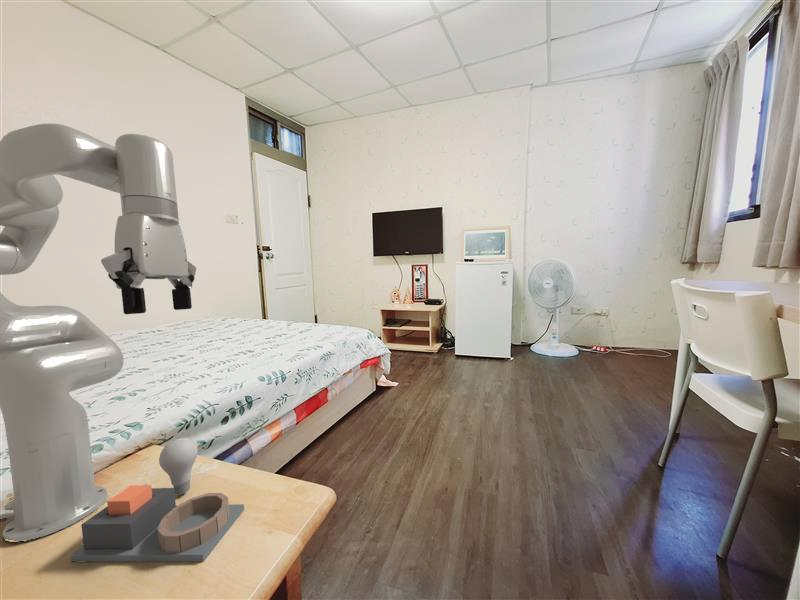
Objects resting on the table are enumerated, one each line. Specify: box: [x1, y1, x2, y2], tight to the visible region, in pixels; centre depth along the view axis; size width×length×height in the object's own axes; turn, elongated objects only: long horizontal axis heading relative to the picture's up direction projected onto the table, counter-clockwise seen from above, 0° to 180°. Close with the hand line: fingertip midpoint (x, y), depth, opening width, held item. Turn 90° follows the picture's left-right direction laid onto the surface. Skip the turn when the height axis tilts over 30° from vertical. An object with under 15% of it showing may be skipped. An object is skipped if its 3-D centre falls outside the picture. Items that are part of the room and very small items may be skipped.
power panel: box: [70, 487, 245, 563], centre depth 48 cm, size 21×10×5 cm, turn 87°
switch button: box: [106, 484, 153, 515], centre depth 49 cm, size 4×4×4 cm
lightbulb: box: [158, 437, 199, 496], centre depth 58 cm, size 6×6×11 cm
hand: (161, 311), depth 52 cm, fingers open, 9 cm apart
